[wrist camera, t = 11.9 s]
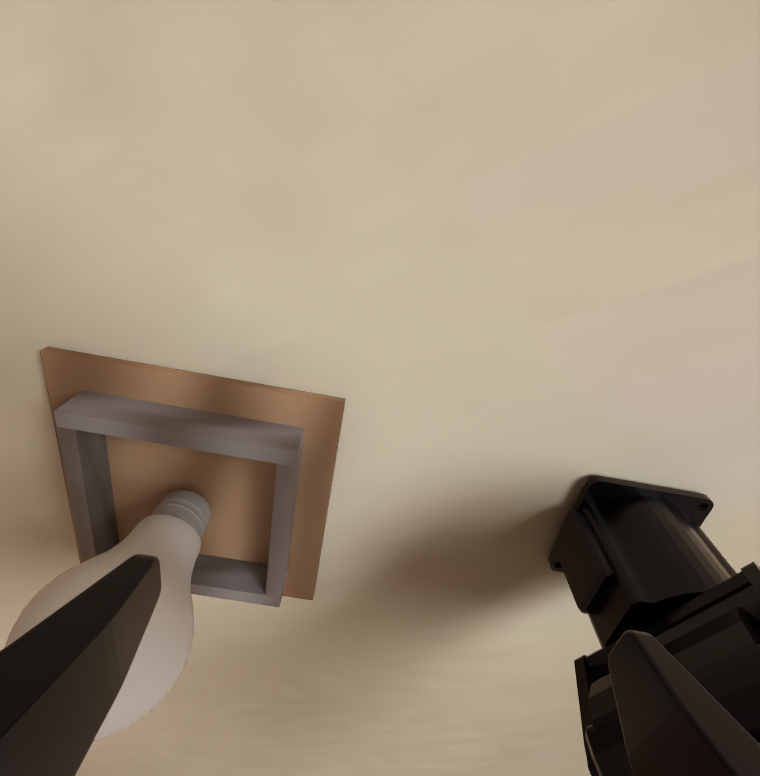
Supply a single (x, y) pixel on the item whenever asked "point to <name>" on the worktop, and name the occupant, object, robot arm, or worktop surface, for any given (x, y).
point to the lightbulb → (171, 614)
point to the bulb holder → (198, 466)
